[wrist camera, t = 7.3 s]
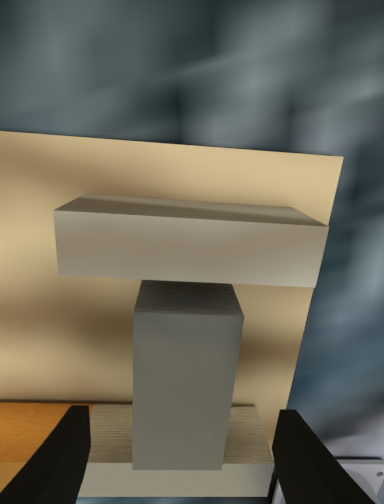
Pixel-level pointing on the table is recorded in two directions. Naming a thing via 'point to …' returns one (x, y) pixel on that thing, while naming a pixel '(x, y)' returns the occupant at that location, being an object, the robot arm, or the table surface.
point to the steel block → (183, 373)
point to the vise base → (101, 309)
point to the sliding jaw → (120, 454)
